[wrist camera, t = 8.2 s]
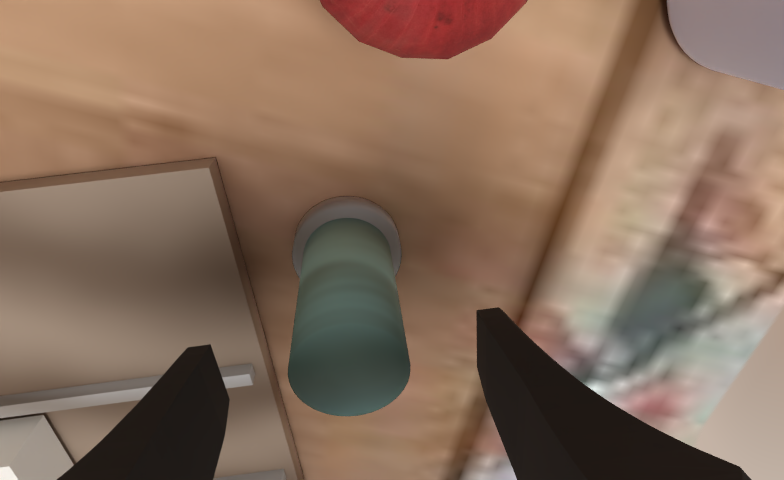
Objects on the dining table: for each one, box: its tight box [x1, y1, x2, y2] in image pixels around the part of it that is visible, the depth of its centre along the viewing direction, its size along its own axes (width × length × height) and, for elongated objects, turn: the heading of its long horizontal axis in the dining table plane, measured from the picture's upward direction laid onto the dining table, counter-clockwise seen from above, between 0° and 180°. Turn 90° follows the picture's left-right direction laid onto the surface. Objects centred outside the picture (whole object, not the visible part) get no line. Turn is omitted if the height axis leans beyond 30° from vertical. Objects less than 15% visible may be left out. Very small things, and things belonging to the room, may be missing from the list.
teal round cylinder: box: [288, 196, 410, 416], centre depth 16 cm, size 4×4×7 cm
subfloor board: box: [0, 158, 304, 480], centre depth 20 cm, size 18×20×2 cm
